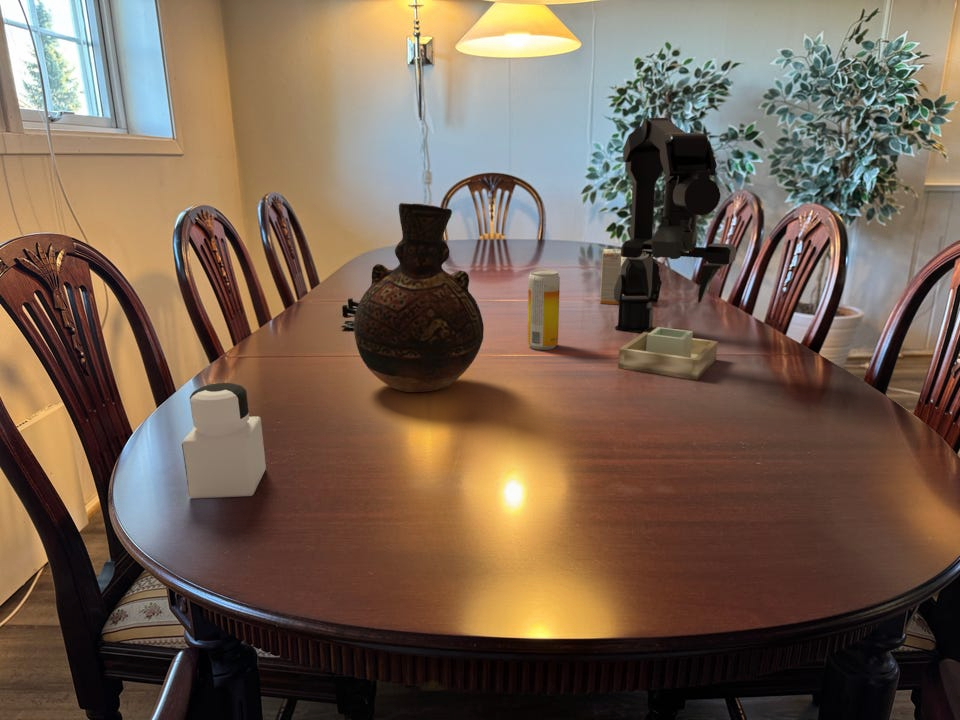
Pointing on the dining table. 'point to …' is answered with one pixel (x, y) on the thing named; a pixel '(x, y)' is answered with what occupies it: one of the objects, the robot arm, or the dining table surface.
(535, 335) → the beer can
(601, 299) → the supplement box
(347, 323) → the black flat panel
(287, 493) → the dining table surface
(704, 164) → the robot arm
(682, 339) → the sage crate
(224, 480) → the medicine bottle
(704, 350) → the tray
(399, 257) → the ceramic vessel
